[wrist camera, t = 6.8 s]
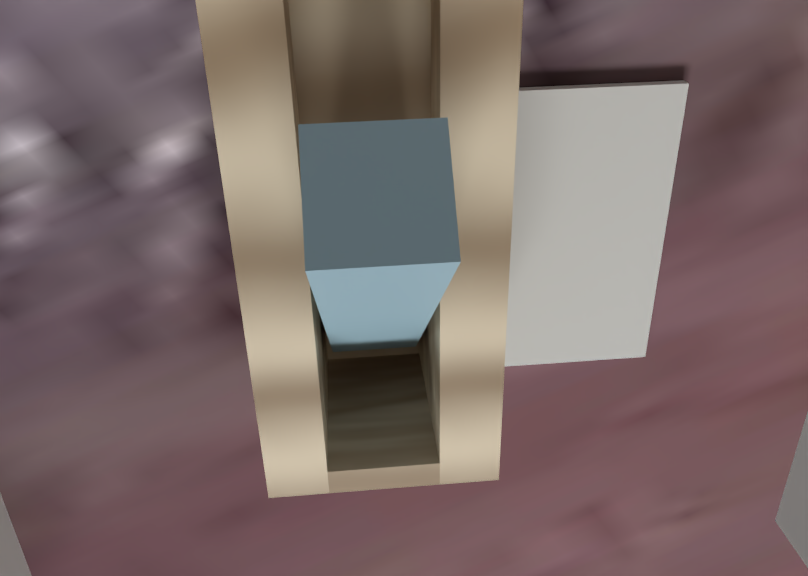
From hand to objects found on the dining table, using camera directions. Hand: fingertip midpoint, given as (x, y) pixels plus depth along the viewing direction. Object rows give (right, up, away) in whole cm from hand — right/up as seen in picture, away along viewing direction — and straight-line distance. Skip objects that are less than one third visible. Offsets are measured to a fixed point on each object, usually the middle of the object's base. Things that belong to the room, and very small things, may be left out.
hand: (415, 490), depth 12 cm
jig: (-2, +10, +23) cm, 25 cm away
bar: (-1, +6, +16) cm, 17 cm away
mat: (+9, +6, +26) cm, 28 cm away
